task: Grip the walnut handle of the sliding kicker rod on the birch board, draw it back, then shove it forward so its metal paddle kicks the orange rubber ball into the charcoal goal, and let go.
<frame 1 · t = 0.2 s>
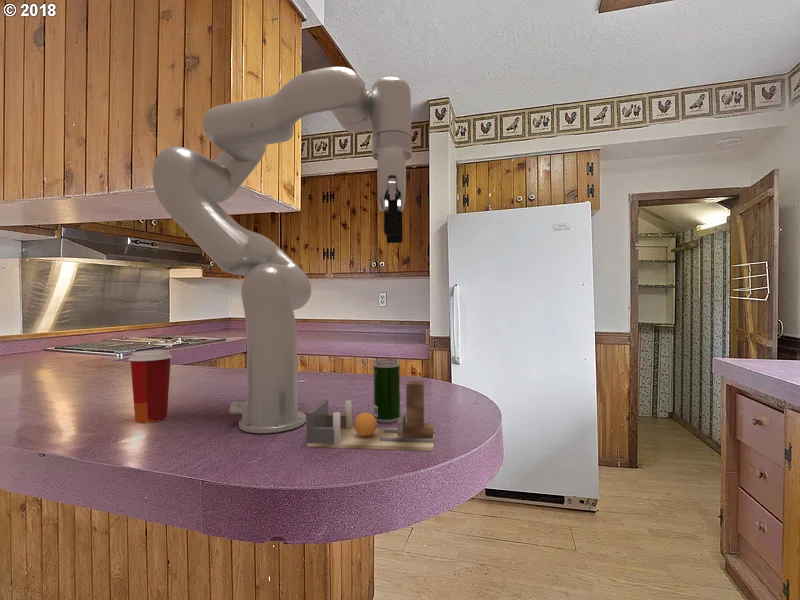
hand: (394, 238, 77), 36 cm above the counter, tool pointing down, fingers open, 9 cm apart
beer can: (387, 420, 83), on the counter
kicker: (416, 409, 70), point 5 cm above the counter, slide at 1.0 cm
paper cup: (151, 420, 84), on the counter
board: (373, 439, 71), on the counter
goal: (332, 438, 72), resting on board
ball: (365, 424, 71), point 3 cm above the counter, touching board
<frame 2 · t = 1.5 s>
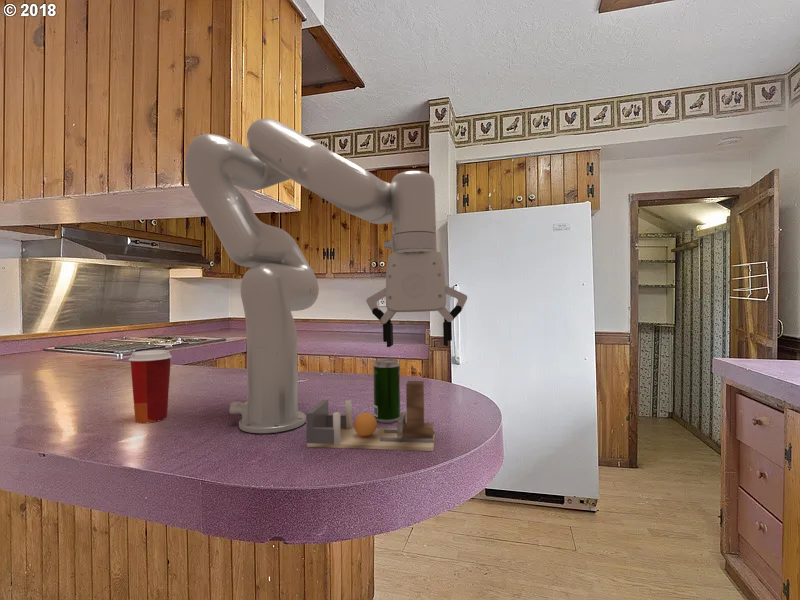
hand: (417, 345, 70), 16 cm above the counter, tool pointing down, fingers open, 9 cm apart
nothing on the counter moved.
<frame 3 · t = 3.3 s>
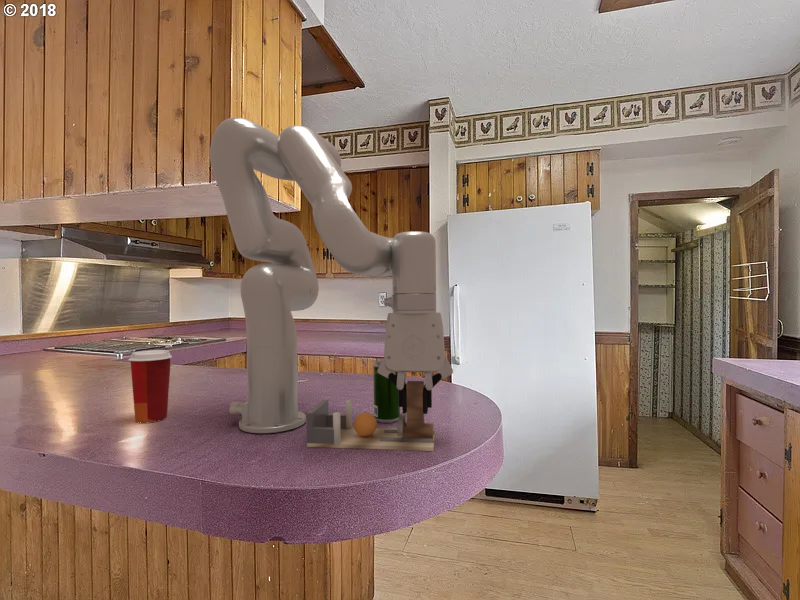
hand: (415, 410, 70), 5 cm above the counter, tool pointing down, fingers closed on kicker, 2 cm apart
kicker: (416, 409, 70), point 5 cm above the counter, slide at 1.0 cm, touching gripper
everything else where it was.
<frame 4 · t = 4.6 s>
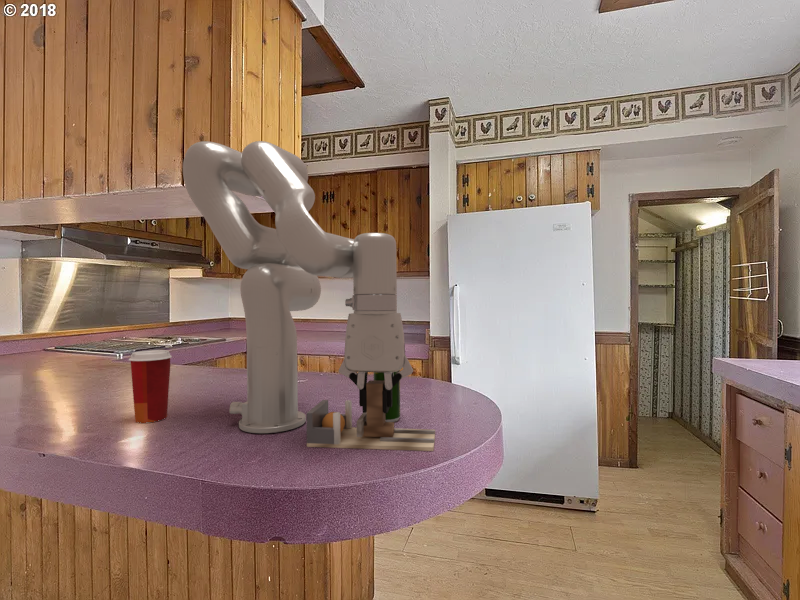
hand: (376, 409, 71), 5 cm above the counter, tool pointing down, fingers closed on kicker, 2 cm apart
kicker: (376, 408, 71), point 5 cm above the counter, slide at 7.9 cm, touching gripper
ball: (333, 423, 72), point 3 cm above the counter, tilted 128°, touching board
everything else where it was.
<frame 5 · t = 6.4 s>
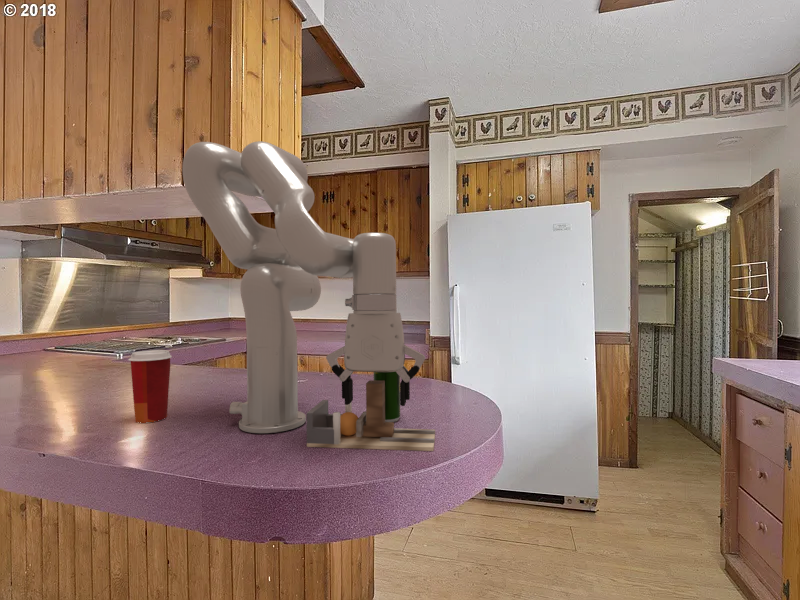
hand: (375, 403, 71), 6 cm above the counter, tool pointing down, fingers open, 9 cm apart
kicker: (376, 408, 71), point 5 cm above the counter, slide at 7.9 cm
ball: (348, 423, 71), point 3 cm above the counter, tilted 51°, touching board
everything else where it was.
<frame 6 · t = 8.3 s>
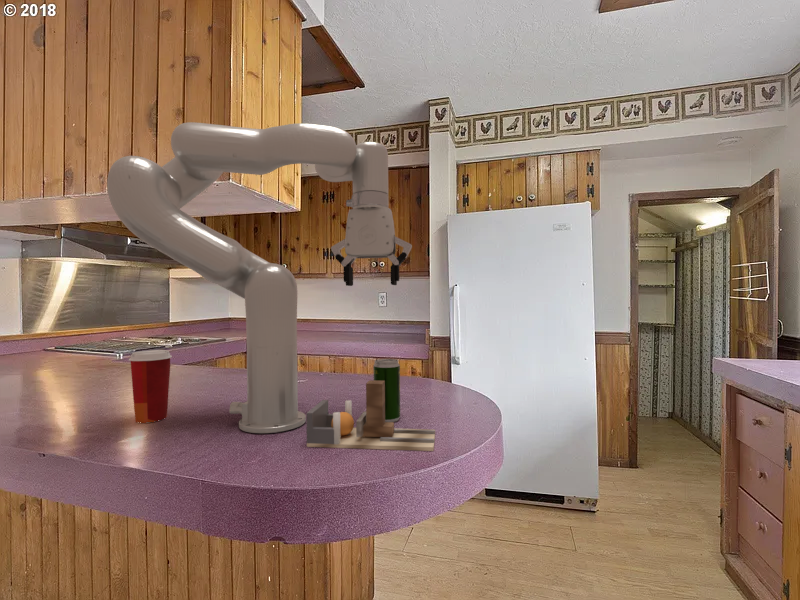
hand: (371, 285, 86), 27 cm above the counter, tool pointing down, fingers open, 9 cm apart
ball: (342, 423, 71), point 3 cm above the counter, tilted 80°, touching board
everything else where it was.
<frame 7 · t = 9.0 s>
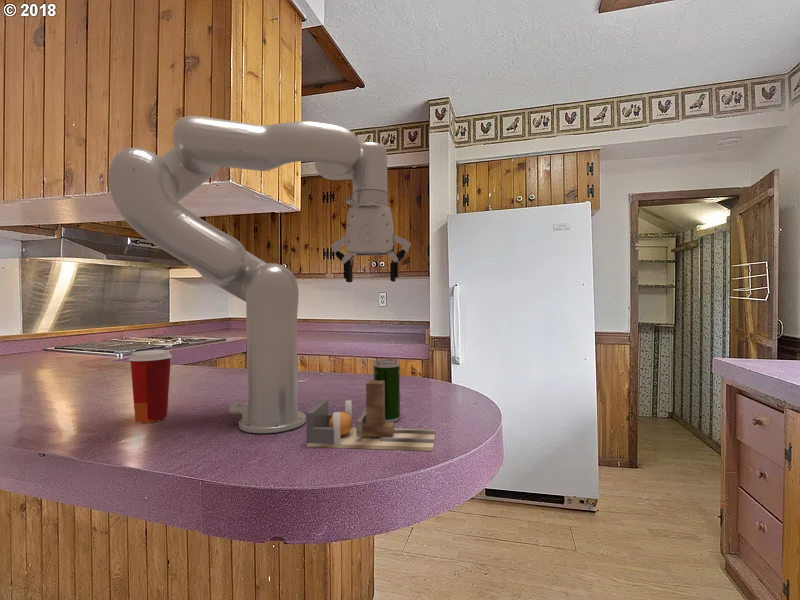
hand: (371, 281, 88), 28 cm above the counter, tool pointing down, fingers open, 9 cm apart
ball: (340, 423, 71), point 3 cm above the counter, tilted 91°, touching board
everything else where it was.
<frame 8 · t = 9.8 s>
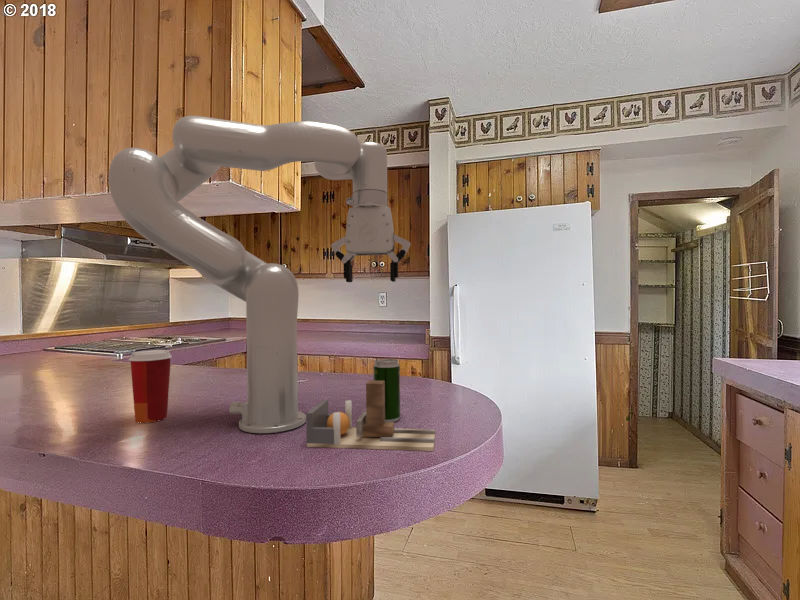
hand: (371, 281, 88), 28 cm above the counter, tool pointing down, fingers open, 9 cm apart
ball: (338, 423, 72), point 3 cm above the counter, tilted 103°, touching board
everything else where it was.
at the end: ball 0.3 cm from the target spot, point 2.6 cm above the counter; kicker slide at 7.9 cm; the gripper is holding nothing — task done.
